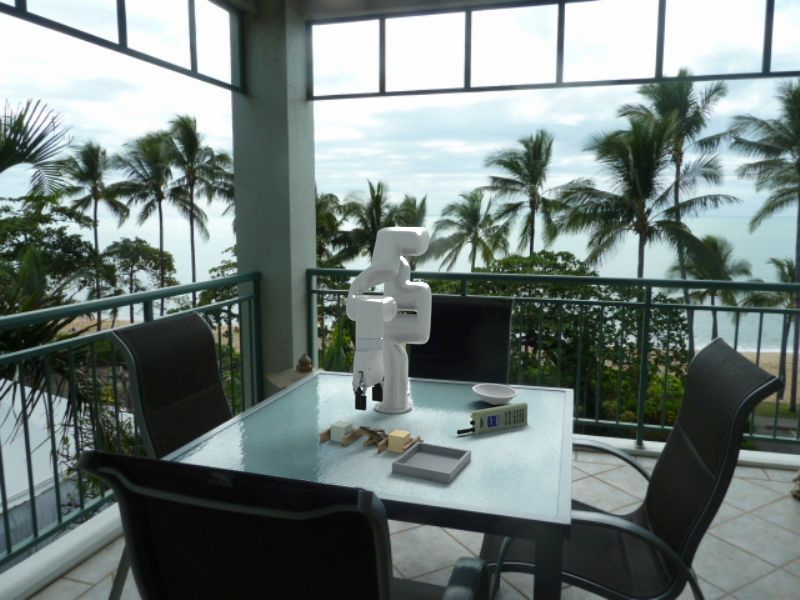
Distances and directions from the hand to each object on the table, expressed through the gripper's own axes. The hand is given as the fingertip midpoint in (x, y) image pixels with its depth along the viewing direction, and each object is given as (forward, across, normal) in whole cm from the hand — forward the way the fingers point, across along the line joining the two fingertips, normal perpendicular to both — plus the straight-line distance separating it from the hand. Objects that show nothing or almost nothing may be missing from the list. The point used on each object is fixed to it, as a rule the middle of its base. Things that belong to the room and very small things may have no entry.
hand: (369, 405), depth 162 cm
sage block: (+11, -1, -9) cm, 15 cm away
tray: (+12, +6, +21) cm, 25 cm away
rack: (+11, -1, 0) cm, 11 cm away
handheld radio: (+11, -27, +27) cm, 40 cm away
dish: (+10, -52, +21) cm, 57 cm away
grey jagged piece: (+12, -1, 0) cm, 12 cm away
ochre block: (+11, -1, +9) cm, 14 cm away
